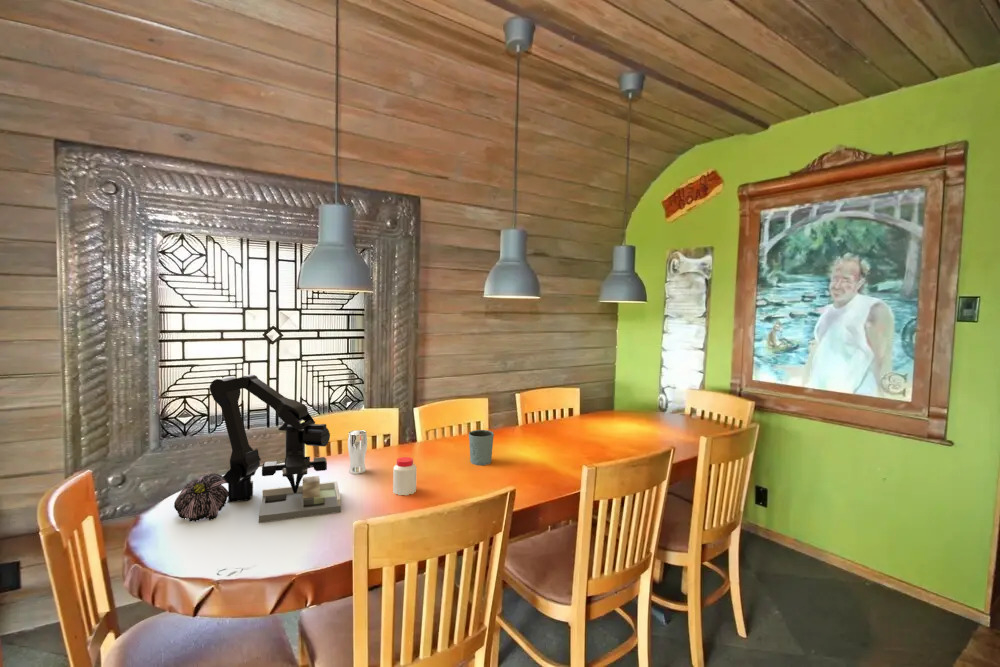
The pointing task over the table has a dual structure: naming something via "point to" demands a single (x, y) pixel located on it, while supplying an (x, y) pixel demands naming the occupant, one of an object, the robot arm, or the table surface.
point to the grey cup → (481, 446)
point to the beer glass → (357, 451)
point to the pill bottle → (404, 476)
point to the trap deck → (298, 502)
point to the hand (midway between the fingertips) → (295, 492)
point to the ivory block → (311, 487)
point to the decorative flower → (202, 498)
